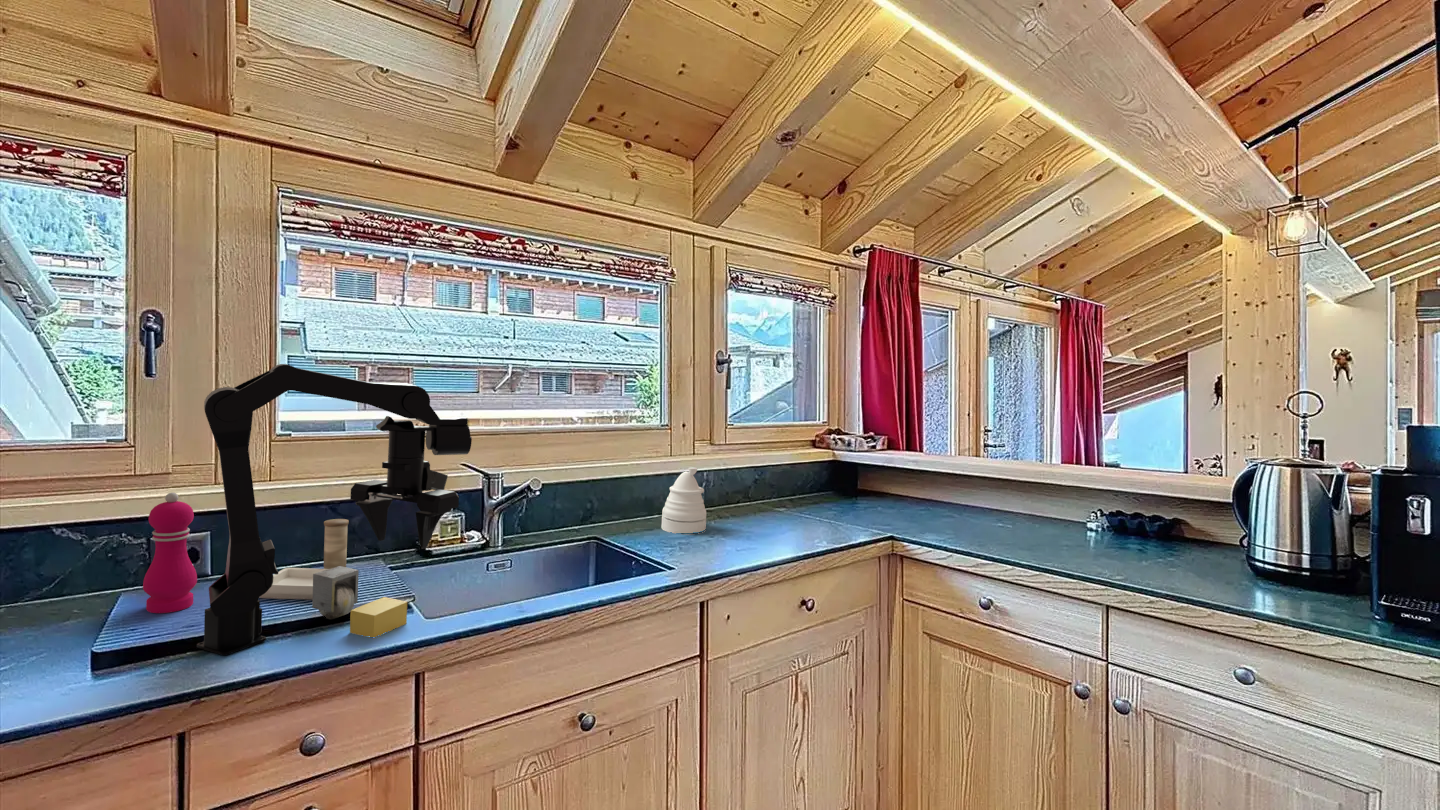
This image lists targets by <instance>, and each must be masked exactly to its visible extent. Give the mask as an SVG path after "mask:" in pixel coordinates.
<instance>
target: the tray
mask: <svg viewBox="0 0 1440 810" xmlns="http://www.w3.org/2000/svg"><path fill="white" fill-rule="evenodd" d="M325 570H328V569H324V568H311V567H310V568H309V567H302V568H301V567H285V568H282V569H281V570H279V571H278V574H277V575H276V574H273V584H272V586H271V587H270V588H269V590H268V591H267V592H266V593H265V594H263V595H262V596H260V597H259V599H275V600H276V599H279V600H281V599H282V600H283V599H284V600H312V598H313V574H315V573H318V572H321V571H325Z"/></svg>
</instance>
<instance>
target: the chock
mask: <svg viewBox="0 0 1440 810" xmlns="http://www.w3.org/2000/svg"><path fill="white" fill-rule="evenodd" d="M349 613H350V618H349V619H350V620H349V633H350V634H353V635H358V636H361V635H363V636H362V637H365V636H370V637H376V636H378V635H380V636H382V635H381V634H383V633H385V632H387V633H389V632H391V631H393V629H394V630H396V629H398V628H399V627H403V626H404V625H406V624H407V620H408V619H407V618H408V601H405V600H402V599H401V600H400V599H395V598H391V597H386V596H383V597H381V598H379V599H375V600H373V601H370V602H368V603H365V604H362V605H360V606H358V607H356V608H354V609H352V610H351V611H350V612H349ZM395 628H396V629H395ZM388 631H389V632H388ZM385 634H386V633H385ZM383 635H384V634H383ZM370 637H369V638H370ZM378 637H379V636H378ZM376 638H377V637H376Z"/></svg>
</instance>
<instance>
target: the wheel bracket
mask: <svg viewBox="0 0 1440 810" xmlns="http://www.w3.org/2000/svg"><path fill="white" fill-rule="evenodd" d="M359 573H360V572H359V569H355V568H351V567H347V566H346V567H343V566H338V567H335V568H331V569H328V570H325V571H321V572H318V573H315V574H313V598H312V599H311V600H312V603H311V604H312V605H311V608H312V609H315V610H318V612H319V613H320V614H321V615H322V617H324V616H325V617H326V618H325V617H324V618H325V619H327V620H335V619H337V618H339V617H342V616H345V615H347V614H349V613H351V610H353V608H354V606H355V605H356V604H358V602H359V599H358V597H359Z"/></svg>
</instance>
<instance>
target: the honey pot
mask: <svg viewBox="0 0 1440 810" xmlns="http://www.w3.org/2000/svg"><path fill="white" fill-rule="evenodd" d="M687 470H688V471H684V472H681V474H680V475H678V477H677V478H676V480H675V481H674V483H673V485H671V486H670V487H669V491H670V492H669V494H668V495H667V498H666V501H665V502H664V506H663V508H662V514H661V515H662V516H661V530H663V531H665V532H667V533H670V532H672V534H676V533H693V532H700V531H703V530H705V529H707V527H706V526H707V509H706V508H705V504H704V503H705V500H704V498H703V496H702V494H703V493H704V492H705V489H704V488H703V487H701V486H699V483H698V481H697V479H696V477H695V474H696V473H697V471H698V468H697V467H695V466H694V467H693V466H692V467H691V466H689V467H687ZM705 531H706V530H705Z"/></svg>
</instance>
